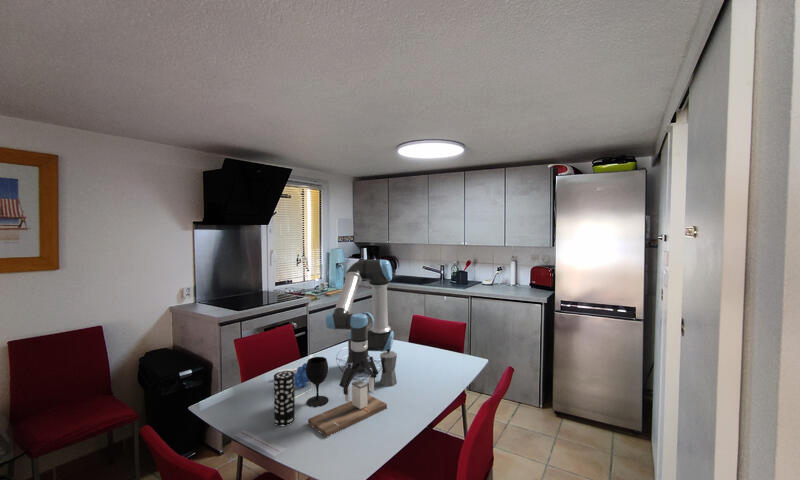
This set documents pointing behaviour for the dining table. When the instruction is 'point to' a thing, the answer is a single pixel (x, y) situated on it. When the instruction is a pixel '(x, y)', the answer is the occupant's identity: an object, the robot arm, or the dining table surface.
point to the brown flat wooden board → (345, 416)
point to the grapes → (301, 376)
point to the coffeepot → (388, 368)
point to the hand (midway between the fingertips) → (359, 396)
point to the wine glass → (317, 379)
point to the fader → (359, 394)
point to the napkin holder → (290, 370)
